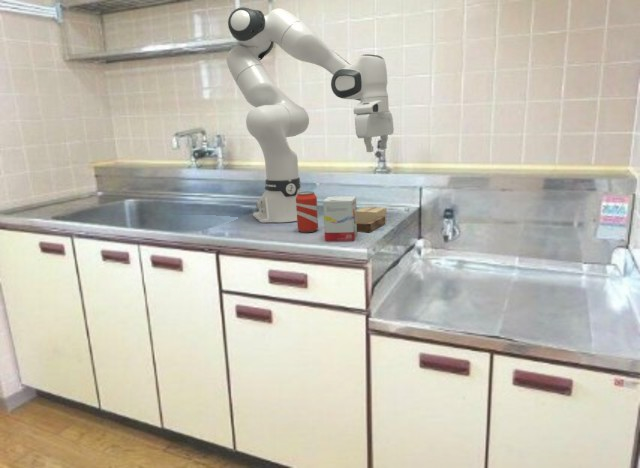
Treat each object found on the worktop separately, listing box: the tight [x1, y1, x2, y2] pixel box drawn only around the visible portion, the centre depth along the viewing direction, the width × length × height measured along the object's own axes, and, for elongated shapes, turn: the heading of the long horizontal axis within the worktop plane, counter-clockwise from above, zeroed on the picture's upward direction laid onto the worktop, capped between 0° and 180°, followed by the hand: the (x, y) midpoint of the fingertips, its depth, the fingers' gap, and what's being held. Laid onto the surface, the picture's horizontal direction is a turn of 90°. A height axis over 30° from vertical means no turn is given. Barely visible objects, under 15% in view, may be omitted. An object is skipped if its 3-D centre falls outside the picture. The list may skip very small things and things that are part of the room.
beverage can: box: [296, 190, 319, 233], centre depth 154 cm, size 6×6×12 cm
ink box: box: [322, 195, 358, 242], centre depth 143 cm, size 9×9×12 cm
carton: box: [356, 206, 387, 223], centre depth 163 cm, size 8×8×5 cm
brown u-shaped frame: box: [357, 216, 386, 234], centre depth 156 cm, size 12×12×2 cm
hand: (376, 150), depth 163 cm, fingers open, 8 cm apart
